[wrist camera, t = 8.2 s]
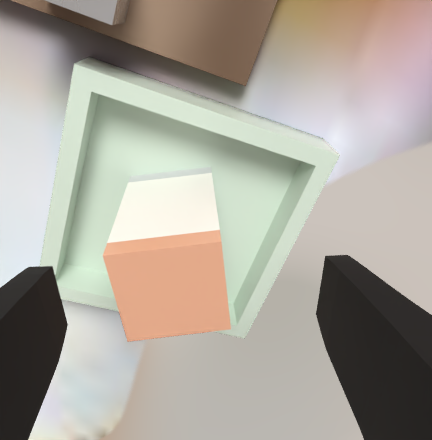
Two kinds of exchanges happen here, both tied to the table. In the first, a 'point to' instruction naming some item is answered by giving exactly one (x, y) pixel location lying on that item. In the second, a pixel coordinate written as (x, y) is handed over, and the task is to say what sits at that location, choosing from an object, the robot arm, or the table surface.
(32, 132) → the table surface
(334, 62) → the table surface
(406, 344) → the robot arm
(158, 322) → the white and orange block
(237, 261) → the tray
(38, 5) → the clip board
